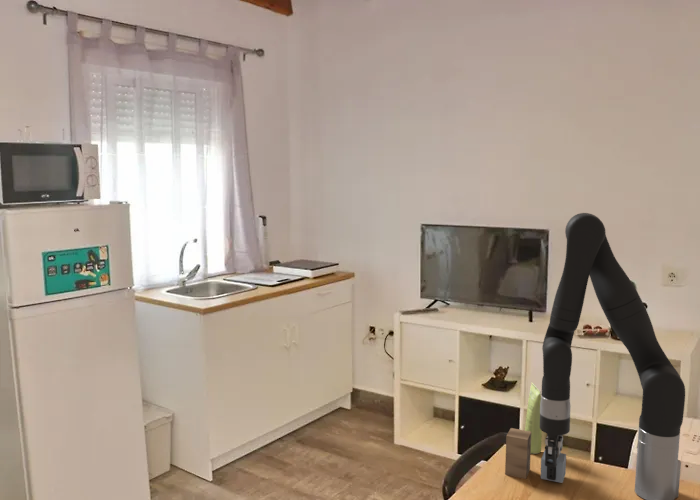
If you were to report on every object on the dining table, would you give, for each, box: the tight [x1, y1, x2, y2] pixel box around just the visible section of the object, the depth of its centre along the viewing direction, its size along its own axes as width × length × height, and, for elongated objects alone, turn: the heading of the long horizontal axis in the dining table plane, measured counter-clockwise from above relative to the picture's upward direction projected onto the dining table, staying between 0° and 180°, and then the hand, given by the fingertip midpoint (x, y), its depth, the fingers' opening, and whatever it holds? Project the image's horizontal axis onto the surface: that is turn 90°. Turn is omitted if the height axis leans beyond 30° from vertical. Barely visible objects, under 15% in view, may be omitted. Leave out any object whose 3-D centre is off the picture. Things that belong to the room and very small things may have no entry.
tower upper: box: [505, 427, 531, 459], centre depth 169 cm, size 6×6×6 cm
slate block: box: [540, 450, 567, 484], centre depth 166 cm, size 6×6×6 cm
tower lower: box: [504, 451, 532, 480], centre depth 170 cm, size 6×6×6 cm
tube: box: [524, 381, 543, 455], centre depth 181 cm, size 6×5×20 cm
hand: (553, 473), depth 166 cm, fingers closed on slate block, 5 cm apart
